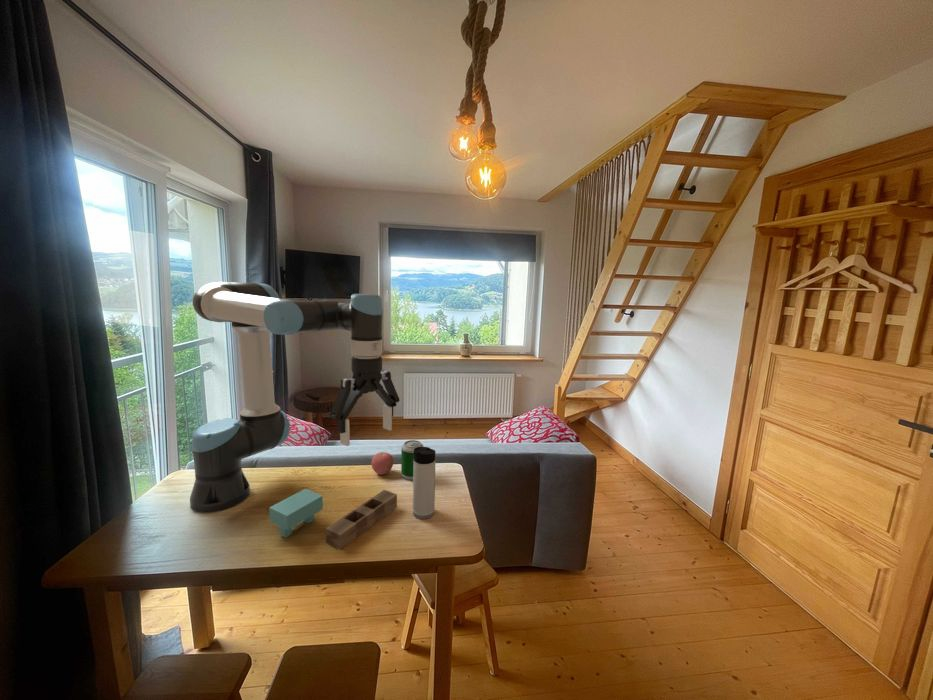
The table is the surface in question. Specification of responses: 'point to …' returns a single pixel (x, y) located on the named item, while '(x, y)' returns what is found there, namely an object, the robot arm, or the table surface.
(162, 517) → the table surface
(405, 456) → the soda can
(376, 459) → the apple
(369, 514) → the rail
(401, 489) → the table surface
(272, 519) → the teal footed block
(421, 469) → the travel mug
